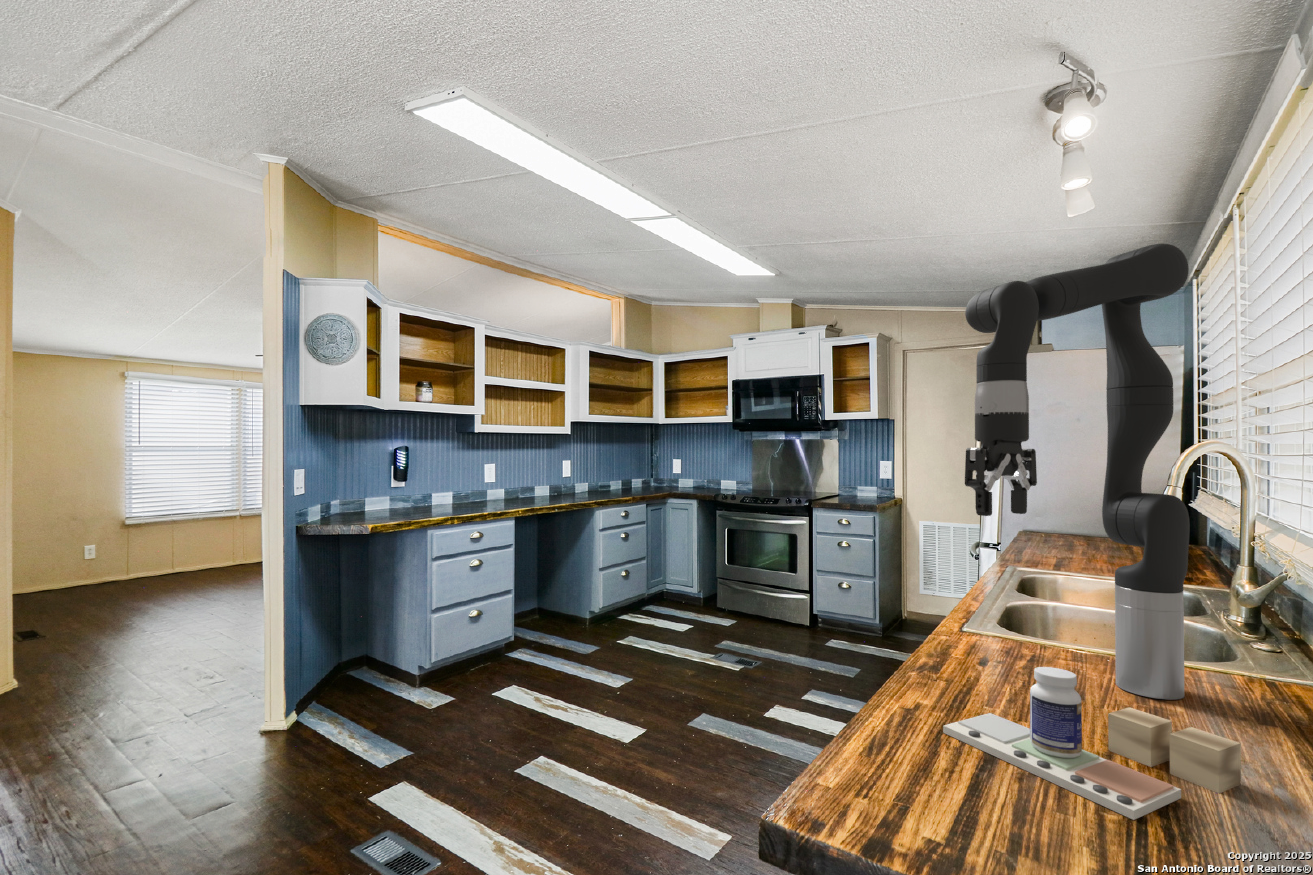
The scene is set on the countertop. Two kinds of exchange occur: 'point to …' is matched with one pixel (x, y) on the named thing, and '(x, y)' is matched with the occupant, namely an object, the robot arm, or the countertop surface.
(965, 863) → the countertop surface
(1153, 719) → the maple block
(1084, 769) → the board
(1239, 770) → the maple block
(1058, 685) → the pill bottle
